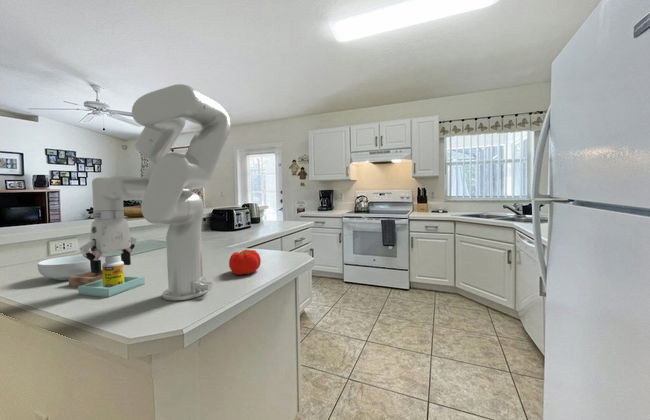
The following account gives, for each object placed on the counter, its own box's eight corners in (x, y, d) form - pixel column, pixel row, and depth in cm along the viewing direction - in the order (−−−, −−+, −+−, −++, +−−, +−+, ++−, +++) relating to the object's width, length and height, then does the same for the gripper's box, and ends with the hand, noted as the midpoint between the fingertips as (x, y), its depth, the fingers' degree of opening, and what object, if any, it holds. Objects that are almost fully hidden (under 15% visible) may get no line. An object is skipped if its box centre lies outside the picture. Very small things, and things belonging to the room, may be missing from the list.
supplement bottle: (102, 291, 83) (100, 259, 83) (104, 286, 88) (102, 256, 88) (124, 287, 87) (123, 256, 86) (125, 283, 91) (123, 253, 91)
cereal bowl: (70, 284, 93) (69, 264, 93) (24, 284, 93) (22, 264, 93) (110, 270, 110) (110, 253, 110) (71, 271, 110) (70, 254, 110)
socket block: (120, 278, 99) (120, 270, 99) (91, 287, 89) (91, 278, 89) (99, 277, 101) (98, 269, 101) (68, 285, 91) (68, 277, 91)
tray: (144, 284, 92) (144, 277, 92) (109, 297, 80) (108, 288, 80) (116, 282, 94) (116, 275, 94) (78, 294, 83) (78, 286, 83)
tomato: (243, 267, 113) (243, 247, 112) (267, 270, 107) (266, 249, 107) (219, 275, 101) (219, 253, 101) (244, 279, 96) (243, 255, 95)
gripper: (89, 218, 77) (92, 277, 78) (142, 214, 94) (144, 262, 94) (69, 218, 78) (72, 275, 79) (125, 214, 95) (127, 261, 96)
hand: (112, 268), depth 87 cm, fingers open, 9 cm apart
